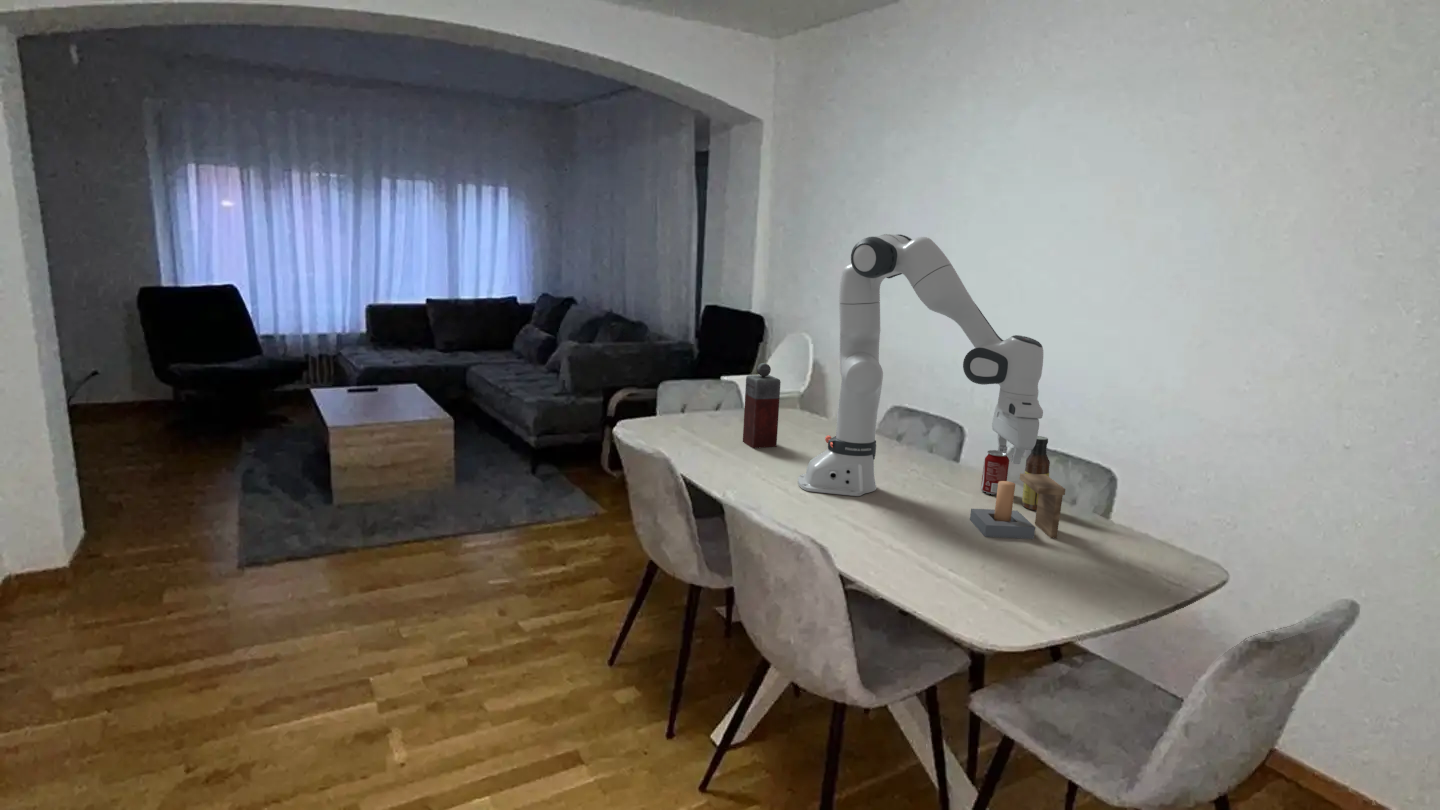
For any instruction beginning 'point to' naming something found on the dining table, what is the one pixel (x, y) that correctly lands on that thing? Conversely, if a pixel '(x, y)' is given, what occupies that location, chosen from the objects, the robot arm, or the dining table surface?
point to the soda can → (994, 471)
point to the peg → (1004, 501)
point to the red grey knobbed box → (761, 409)
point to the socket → (1002, 525)
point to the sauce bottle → (1035, 471)
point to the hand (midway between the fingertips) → (1008, 457)
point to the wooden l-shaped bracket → (1046, 501)
